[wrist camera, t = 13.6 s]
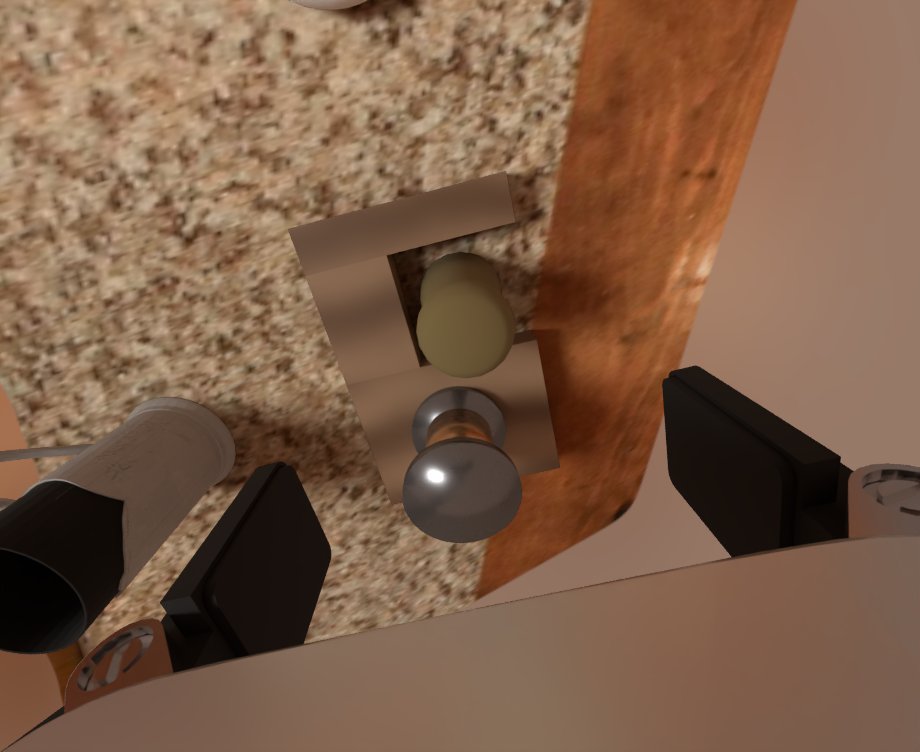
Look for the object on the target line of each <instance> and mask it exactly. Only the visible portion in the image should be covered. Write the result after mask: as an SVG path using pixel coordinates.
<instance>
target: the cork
mask: <svg viewBox="0 0 920 752" xmlns="http://www.w3.org/2000/svg"><path fill="white" fill-rule="evenodd" d="M419 297H420V302H421V307H422V308H421V310H420V313H419V315H418V321H417V330H416V333H417V337H418V342H419V346H420V348H421V350H422V352H423V353H424V355H425V357H426V358H427V360H428V361H429V362H430V363H431V364H432V365H433V366H434V367H436V368H437V369H438V370H439V371H441V372H443V373H445V374H448V375H450V376H452V377H459V378H473V377H479V376H482V375H484V374H486V373H488V372H490V371H492V370H494V369H495V368H496V367H497V366H499V365H500V364H501V363H502V362H503V361H504V360H505V358H506V357H507V355H508V353H509V351H510V350H511V348H512V345H513V340H514V336H515V331H516V329H515V321H514V314H513V312H512V310H511V308H510V306H509V304H508V302H507V300H506V299H505V298H504V297H503V296H502V292H501V284H500V280H499V278H498V276H497V274H496V272H495V270H494V269H493V268H492V267H491V266H490V265H489V263H488V262H487V261H486V260H484V259H482V258H480V257H478V256H476V255H474V254H470V253H463V252H458V253H452V254H447V255H445V256H443V257H441V258H439V259H438V260H436V261H435V262H434V263H433V264H432V265H431V266H430V267H429V268H428V269H427V270H426V272H425V274H424V276H423V278H422V281H421V284H420V292H419Z"/></svg>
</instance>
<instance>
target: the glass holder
mask: <svg viewBox="0 0 920 752" xmlns="http://www.w3.org/2000/svg"><path fill="white" fill-rule="evenodd" d="M66 455H77V456H75V457H74V458H72V459H71V460H69V461H68V462H66V463H65V464H63V465H62V466H60V467H59V468H57V469H56V470H54V471H53V472H52V473H50V474H49V475H47V476H46V477H44V478H43V479H41V480H40V481H38V482H37V483H35V484H34V485H32V486H31V487H30V488H28V489H27V490H26V491H25V493H24V494H23V495H22V497H21V498H19V499H18V500H12V499H5V498H0V509H1V510H2V511H0V650H2V651H6V652H12V653H18V654H45V653H50V652H56V651H58V650H61V649H64V648H66V647H68V646H70V645H72V644H73V643H75V642H76V641H77V640H78V639H79V638H80V637H81V636H82V635H83V633H84V632H85V631H86V630H87V629H88V628H89V626H90V625H91V624H92V623H93V622H94V620H95V619H96V618H97V617H98V616H99V615H100V613H101V612H102V611H103V610H104V609H105V607H106V606H107V605H108V604H109V603H110V602H111V600H112V599H113V598H114V597H116V598H117V597H118V596H119V595H121V593H122V592H123V591H124V590H125V589H126V587H127V586H128V585H129V584H130V583H131V581H132V580H133V579H134V578H135V577H136V575H137V574H138V573H139V572H140V571H141V569H142V568H143V567H144V566H145V565H146V563H147V562H148V561H149V560H150V559H151V557H152V556H153V555H154V554H155V553H156V552H157V550H158V549H159V548H160V547H161V546H162V544H163V543H164V542H165V541H166V540H167V538H168V537H169V536H170V535H171V534H172V532H173V531H174V530H175V529H176V528H177V526H178V525H179V524H180V523H181V522H182V520H183V519H184V518H185V517H186V516H187V514H188V513H189V512H190V511H191V510H192V508H193V507H194V506H195V505H196V504H197V502H198V501H199V500H200V499H201V498H202V496H203V495H204V494H205V493H206V492H207V490H208V489H209V488H210V487H211V486H213V485H215V484H217V483H219V482H220V481H222V480H223V479H224V478H225V477H226V476H227V475H228V474H229V472H230V471H231V469H232V468H233V465H234V462H235V456H236V450H235V444H234V440H233V437H232V435H231V433H230V431H229V430H228V428H227V427H226V425H225V424H224V423H223V422H222V421H221V420H220V419H219V418H218V417H217V416H216V415H215V414H214V413H212V412H211V411H210V410H209V409H207V408H205V407H203V406H202V405H200V404H197V403H195V402H192V401H190V400H186V399H182V398H175V397H160V398H156V399H151V400H149V401H146V402H144V403H142V404H141V405H139V406H138V407H136V408H135V409H134V410H133V411H132V413H131V414H130V415H129V417H128V419H127V420H126V422H125V423H124V424H122V425H121V426H119V427H118V428H116V429H115V430H113V431H112V432H110V433H109V434H107V435H106V436H105V437H103V438H102V439H100V440H99V441H97V442H96V443H94V444H84V445H72V446H57V447H41V448H30V449H19V450H8V451H0V462H4V461H11V460H20V459H27V458H39V457H53V456H66Z"/></svg>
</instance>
